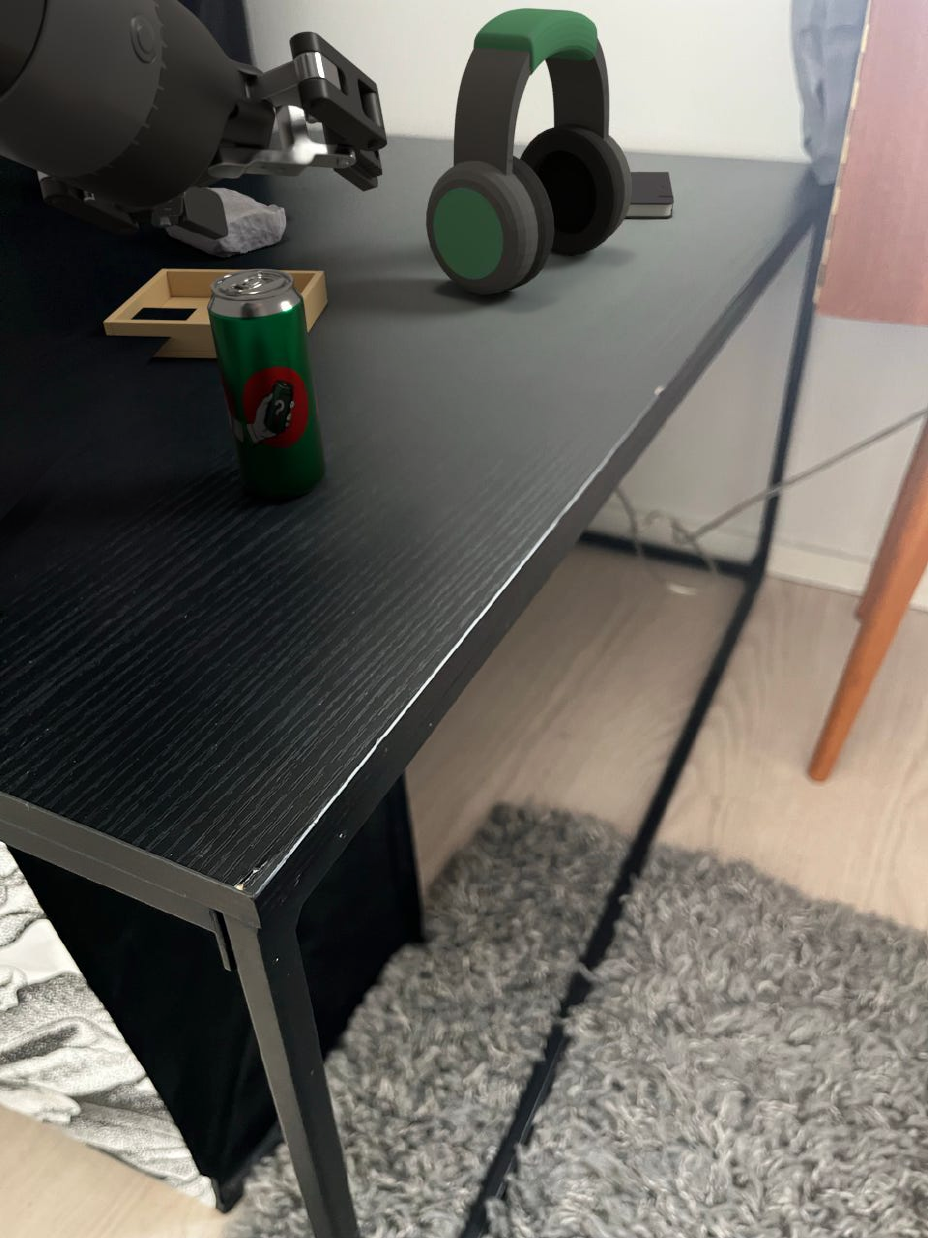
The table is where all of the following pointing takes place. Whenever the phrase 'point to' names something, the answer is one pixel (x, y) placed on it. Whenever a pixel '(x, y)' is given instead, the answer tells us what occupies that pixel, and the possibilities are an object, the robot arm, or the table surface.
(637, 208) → the notebook
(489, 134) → the headphones
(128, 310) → the tray
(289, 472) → the soda can
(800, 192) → the table surface
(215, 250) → the stone block
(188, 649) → the table surface
